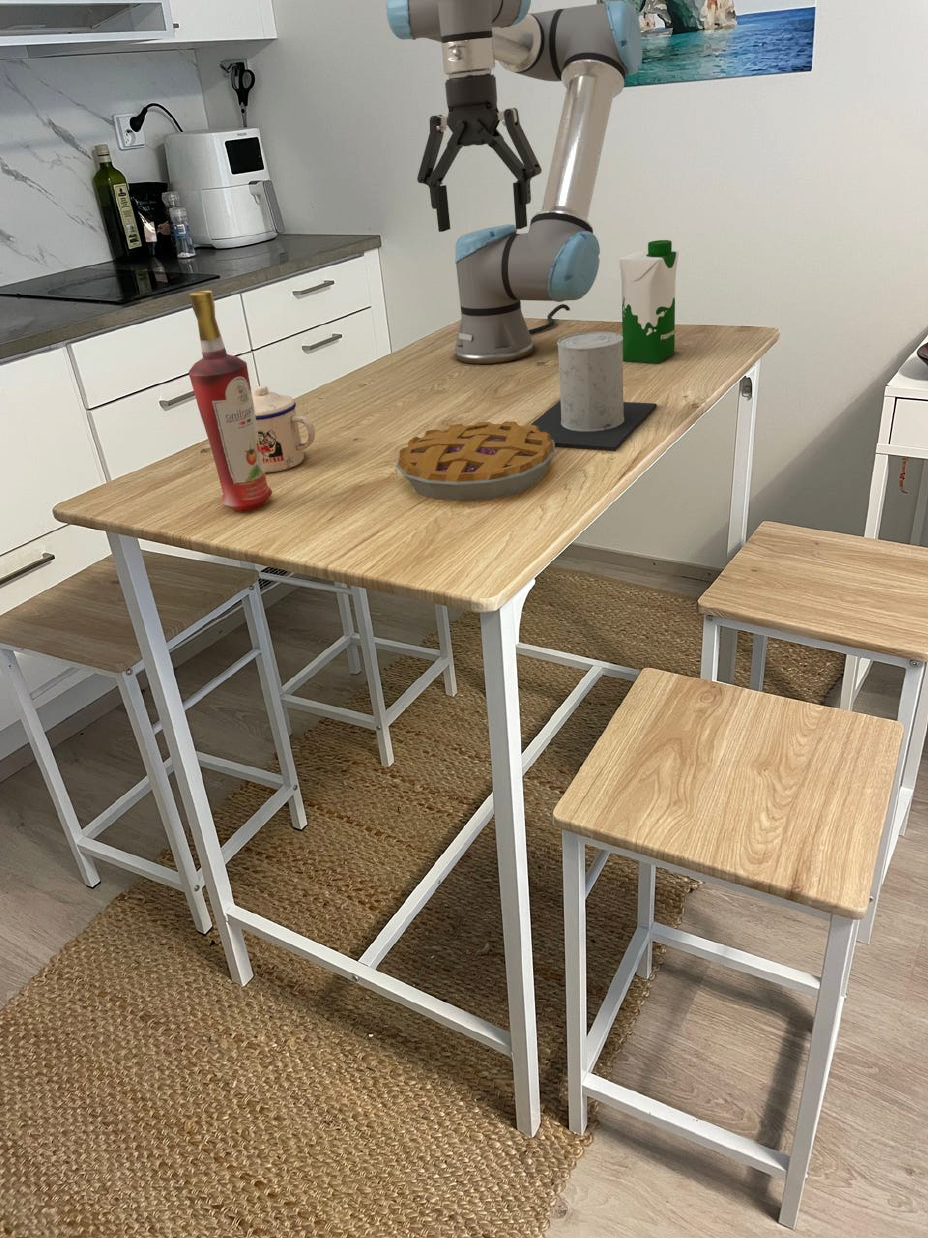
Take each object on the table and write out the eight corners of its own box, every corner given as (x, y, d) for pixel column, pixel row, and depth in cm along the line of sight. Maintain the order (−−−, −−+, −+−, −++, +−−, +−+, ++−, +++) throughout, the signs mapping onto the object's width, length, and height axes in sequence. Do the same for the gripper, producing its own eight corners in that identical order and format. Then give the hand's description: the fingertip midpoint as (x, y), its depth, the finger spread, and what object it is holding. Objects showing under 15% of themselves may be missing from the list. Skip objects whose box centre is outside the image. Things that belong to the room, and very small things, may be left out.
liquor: (252, 491, 133) (206, 285, 119) (286, 500, 129) (243, 287, 115) (211, 509, 128) (158, 297, 115) (244, 519, 124) (193, 301, 110)
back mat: (561, 402, 155) (561, 398, 155) (656, 407, 148) (656, 403, 148) (512, 443, 140) (511, 439, 140) (615, 451, 133) (615, 447, 133)
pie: (379, 506, 123) (373, 470, 121) (422, 448, 142) (418, 416, 139) (544, 506, 118) (541, 469, 116) (567, 446, 136) (565, 412, 134)
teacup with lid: (234, 473, 140) (217, 396, 134) (264, 451, 148) (249, 377, 142) (306, 475, 136) (291, 396, 131) (333, 453, 144) (320, 377, 138)
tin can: (622, 430, 138) (621, 346, 132) (557, 432, 140) (553, 349, 134) (626, 410, 146) (624, 329, 140) (564, 412, 148) (560, 333, 142)
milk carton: (660, 365, 168) (661, 246, 158) (615, 361, 173) (613, 246, 163) (681, 352, 174) (683, 237, 164) (637, 349, 179) (636, 237, 169)
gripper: (384, 84, 141) (402, 235, 151) (538, 66, 130) (546, 230, 141) (409, 81, 147) (425, 227, 157) (558, 64, 136) (564, 222, 146)
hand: (482, 229), depth 149 cm, fingers open, 13 cm apart
